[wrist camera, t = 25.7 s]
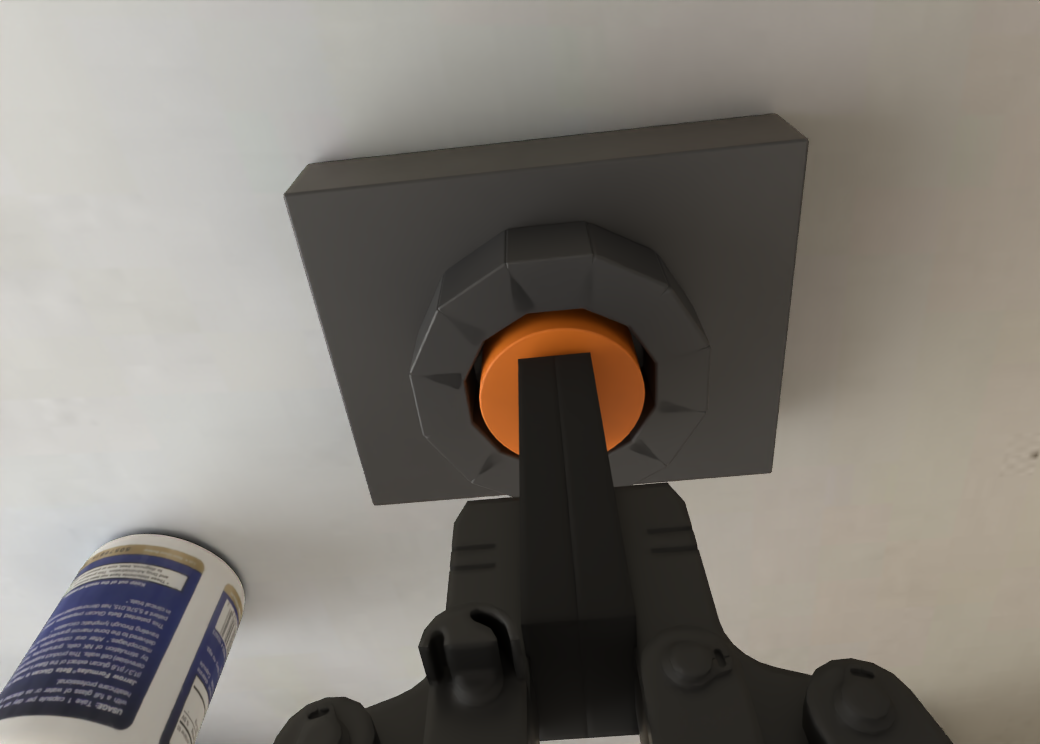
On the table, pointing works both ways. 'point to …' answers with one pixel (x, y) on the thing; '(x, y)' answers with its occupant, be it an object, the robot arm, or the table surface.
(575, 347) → the switch
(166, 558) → the pill bottle
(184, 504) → the table surface
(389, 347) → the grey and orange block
